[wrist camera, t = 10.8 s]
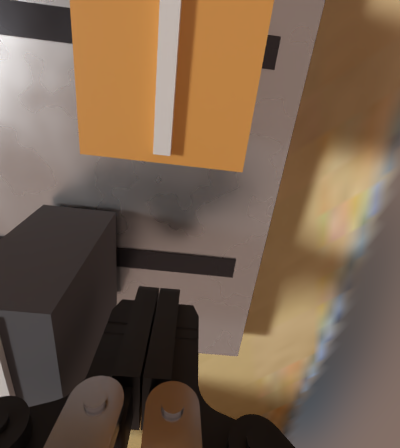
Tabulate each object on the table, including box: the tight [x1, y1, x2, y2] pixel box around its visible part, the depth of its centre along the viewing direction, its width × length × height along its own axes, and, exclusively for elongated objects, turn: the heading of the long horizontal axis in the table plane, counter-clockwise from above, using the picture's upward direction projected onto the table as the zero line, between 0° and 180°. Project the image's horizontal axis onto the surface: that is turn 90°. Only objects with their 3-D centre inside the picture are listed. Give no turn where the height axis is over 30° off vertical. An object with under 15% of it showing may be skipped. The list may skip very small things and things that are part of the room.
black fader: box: [0, 205, 117, 407], centre depth 11 cm, size 5×3×6 cm, turn 173°
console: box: [0, 0, 325, 356], centre depth 13 cm, size 22×16×2 cm
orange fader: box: [70, 0, 274, 172], centre depth 7 cm, size 5×3×6 cm, turn 173°
